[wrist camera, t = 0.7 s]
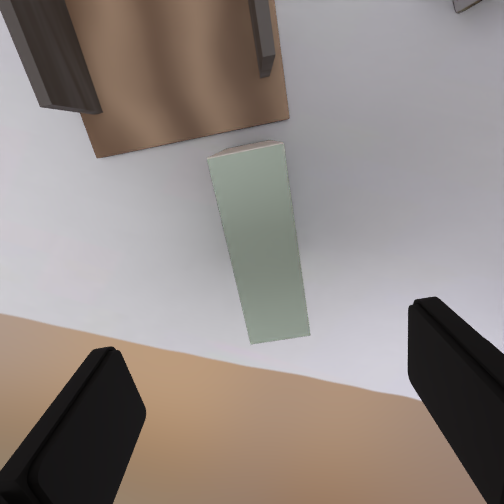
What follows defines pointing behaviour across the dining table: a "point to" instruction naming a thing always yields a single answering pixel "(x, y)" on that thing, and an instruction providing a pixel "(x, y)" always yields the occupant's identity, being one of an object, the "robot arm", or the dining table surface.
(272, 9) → the bookshelf board
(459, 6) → the coffee box
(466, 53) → the dining table surface
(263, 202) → the book
